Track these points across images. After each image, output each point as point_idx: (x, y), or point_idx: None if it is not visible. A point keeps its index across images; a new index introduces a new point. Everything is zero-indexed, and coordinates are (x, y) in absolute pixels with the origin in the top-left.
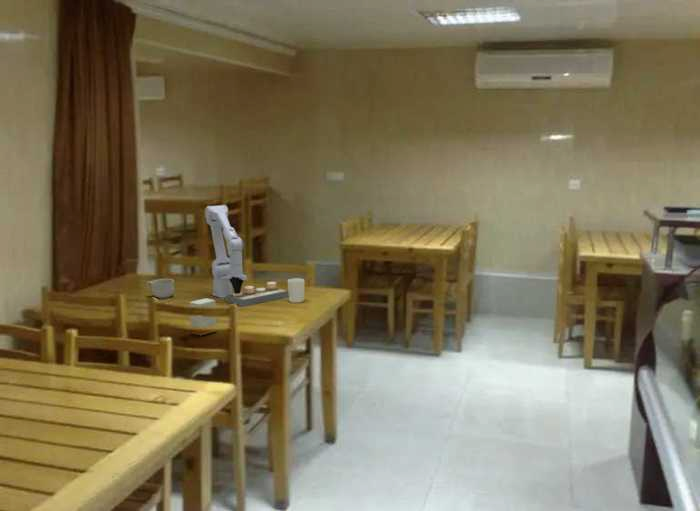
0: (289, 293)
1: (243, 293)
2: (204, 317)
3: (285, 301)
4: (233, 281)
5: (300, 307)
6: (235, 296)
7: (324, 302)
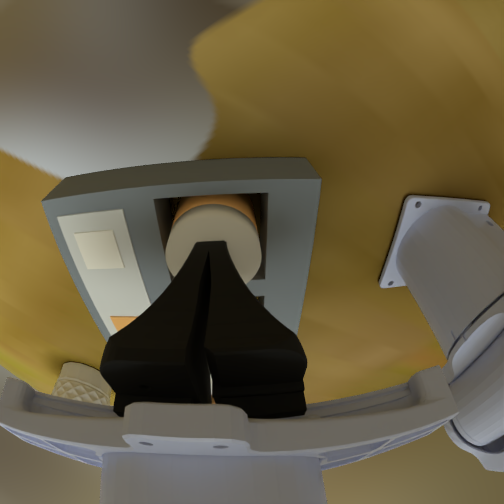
0: (71, 392)
1: (264, 306)
2: None
3: (93, 359)
4: (152, 337)
5: (2, 337)
6: (183, 213)
7: (49, 389)
